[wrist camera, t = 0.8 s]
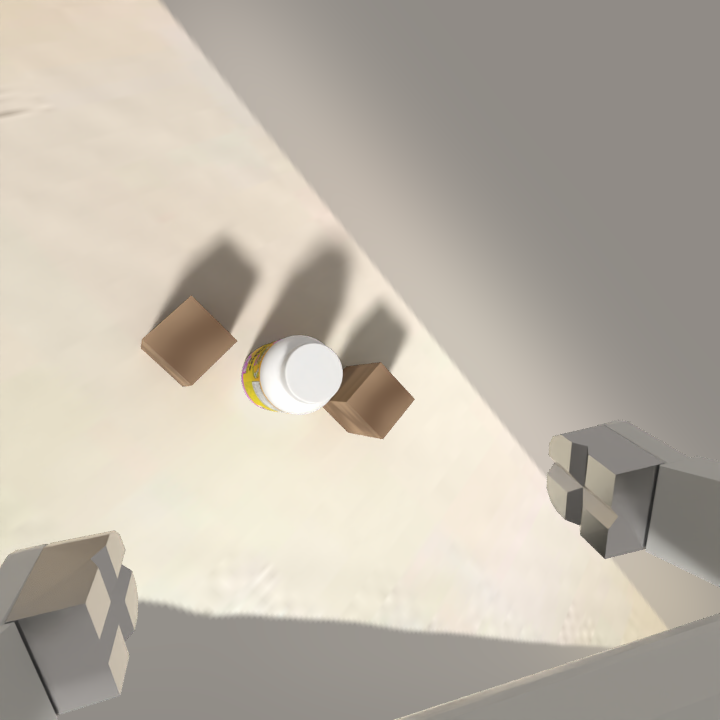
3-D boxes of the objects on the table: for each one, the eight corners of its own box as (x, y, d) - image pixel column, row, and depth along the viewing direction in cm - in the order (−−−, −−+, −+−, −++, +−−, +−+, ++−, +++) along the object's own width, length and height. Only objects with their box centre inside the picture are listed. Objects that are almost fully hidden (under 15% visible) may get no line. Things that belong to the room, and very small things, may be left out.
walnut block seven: (316, 400, 50) (346, 401, 43) (347, 365, 52) (381, 361, 45) (348, 432, 51) (382, 439, 44) (377, 397, 53) (415, 398, 46)
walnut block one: (140, 348, 43) (142, 339, 36) (183, 310, 45) (192, 294, 38) (182, 386, 45) (191, 385, 37) (222, 347, 46) (238, 339, 39)
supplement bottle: (282, 332, 49) (327, 313, 37) (315, 386, 50) (370, 384, 38) (225, 367, 46) (255, 359, 35) (262, 423, 47) (303, 434, 36)
